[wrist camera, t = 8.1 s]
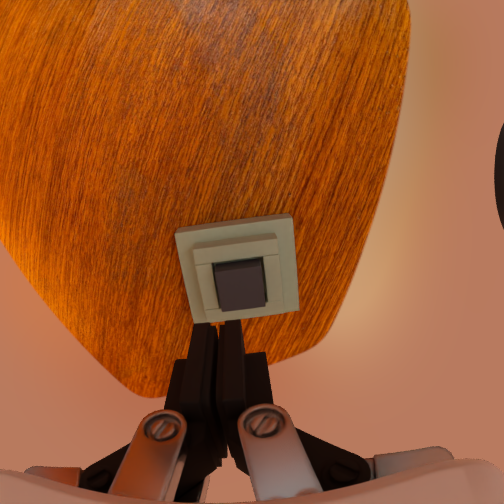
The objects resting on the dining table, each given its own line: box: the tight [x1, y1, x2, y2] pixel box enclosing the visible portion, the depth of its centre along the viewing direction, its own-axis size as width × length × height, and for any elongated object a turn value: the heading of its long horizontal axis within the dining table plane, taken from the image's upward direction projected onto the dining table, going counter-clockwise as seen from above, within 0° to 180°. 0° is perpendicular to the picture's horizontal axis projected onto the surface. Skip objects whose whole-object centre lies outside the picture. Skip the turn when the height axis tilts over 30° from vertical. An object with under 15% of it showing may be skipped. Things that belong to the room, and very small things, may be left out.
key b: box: [215, 259, 266, 312], centre depth 22 cm, size 3×3×2 cm
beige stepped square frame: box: [174, 213, 299, 324], centre depth 24 cm, size 9×8×4 cm
